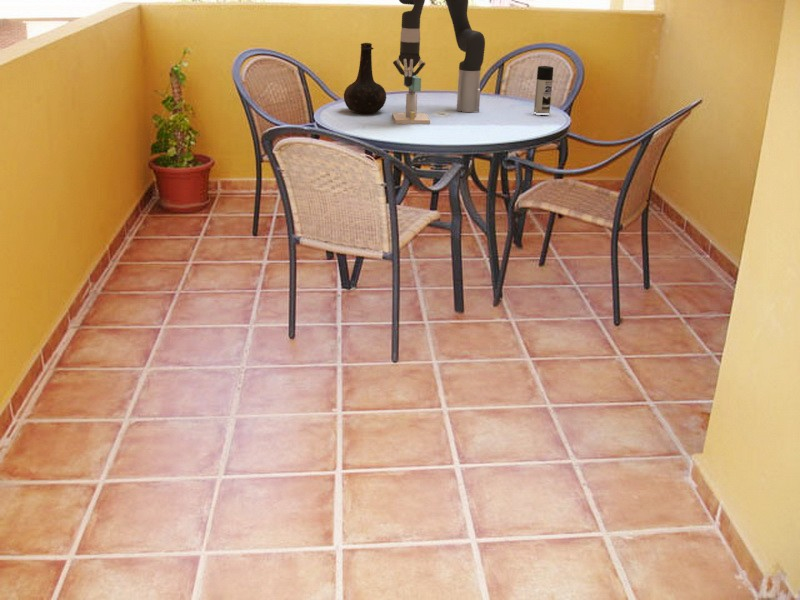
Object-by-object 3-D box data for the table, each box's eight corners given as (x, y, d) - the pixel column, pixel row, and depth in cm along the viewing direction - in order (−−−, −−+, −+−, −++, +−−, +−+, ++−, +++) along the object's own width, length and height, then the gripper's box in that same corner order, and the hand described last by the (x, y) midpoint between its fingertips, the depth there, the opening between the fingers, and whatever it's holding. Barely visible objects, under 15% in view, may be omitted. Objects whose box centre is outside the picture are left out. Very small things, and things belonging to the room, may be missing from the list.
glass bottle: (346, 116, 345) (347, 45, 334) (341, 108, 361) (341, 40, 350) (389, 116, 349) (391, 46, 338) (382, 108, 365) (383, 40, 354)
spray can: (542, 116, 358) (546, 68, 350) (530, 114, 362) (534, 66, 354) (552, 115, 362) (557, 67, 354) (540, 112, 366) (545, 65, 358)
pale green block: (403, 90, 344) (404, 72, 341) (409, 90, 345) (410, 72, 342) (414, 96, 331) (414, 78, 328) (420, 96, 332) (421, 78, 329)
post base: (425, 117, 349) (426, 91, 345) (430, 124, 337) (431, 97, 332) (392, 116, 348) (392, 90, 344) (395, 123, 335) (396, 96, 331)
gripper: (391, 40, 322) (389, 86, 328) (425, 42, 319) (423, 88, 326) (395, 38, 328) (394, 83, 335) (428, 40, 326) (426, 86, 333)
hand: (408, 86), depth 331 cm, fingers closed
